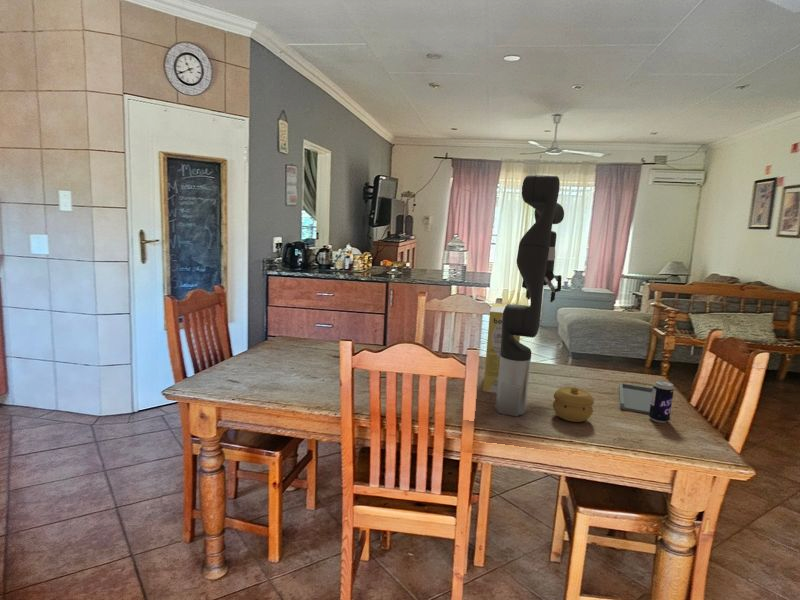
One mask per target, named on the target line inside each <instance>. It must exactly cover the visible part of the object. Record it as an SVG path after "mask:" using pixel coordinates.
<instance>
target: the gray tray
mask: <svg viewBox="0 0 800 600" xmlns="http://www.w3.org/2000/svg"><path fill="white" fill-rule="evenodd" d="M652 391H653V387H649V386H645V385H644V386H643V385H639V384H638V385H637V384H632V383H626V382H625V383H624V382H619V383H618V397H619V398H618V399H619V409H620V410H622V411H623V410H624V411H628V412H629V411H630V412H635V413H640V414H646V415H649V411H650V405H651V398H652Z"/></svg>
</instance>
